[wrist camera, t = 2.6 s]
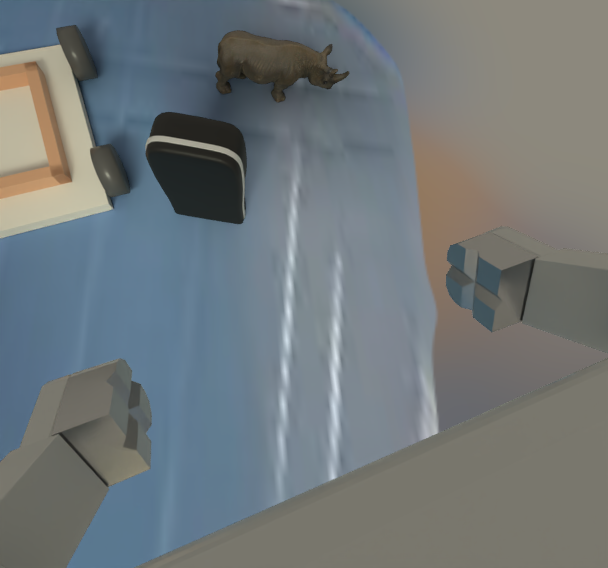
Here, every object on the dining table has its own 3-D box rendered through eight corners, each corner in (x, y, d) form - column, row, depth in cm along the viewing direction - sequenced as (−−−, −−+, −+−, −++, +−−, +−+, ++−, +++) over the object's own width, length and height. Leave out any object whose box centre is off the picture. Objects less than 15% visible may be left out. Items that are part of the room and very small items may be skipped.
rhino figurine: (342, 112, 41) (356, 69, 35) (215, 98, 39) (208, 51, 33) (342, 80, 42) (356, 33, 36) (218, 66, 40) (212, 14, 34)
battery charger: (251, 191, 37) (249, 116, 26) (245, 226, 36) (239, 163, 25) (180, 179, 37) (147, 96, 25) (172, 214, 36) (134, 145, 25)
